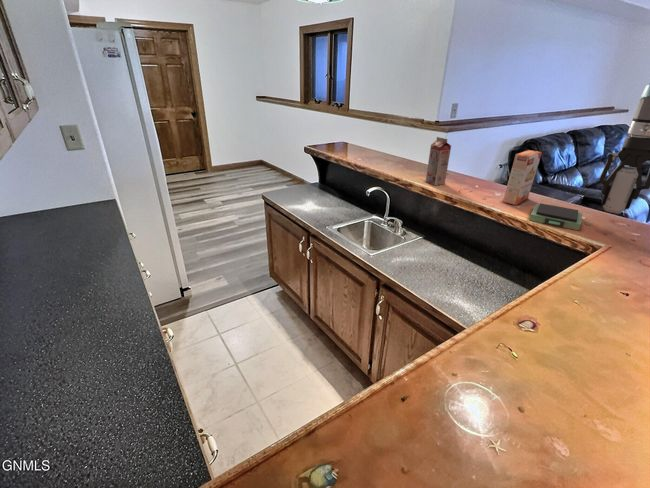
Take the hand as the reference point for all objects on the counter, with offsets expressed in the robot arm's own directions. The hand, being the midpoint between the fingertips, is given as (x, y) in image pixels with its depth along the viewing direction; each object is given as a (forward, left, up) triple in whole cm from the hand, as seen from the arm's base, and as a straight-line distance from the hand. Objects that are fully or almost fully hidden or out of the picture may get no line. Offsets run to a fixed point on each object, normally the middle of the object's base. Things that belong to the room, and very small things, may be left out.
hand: (614, 205), depth 120 cm
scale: (+15, -3, -10) cm, 19 cm away
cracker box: (+31, -18, -10) cm, 38 cm away
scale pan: (+15, -3, -7) cm, 17 cm away
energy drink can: (0, 0, -2) cm, 2 cm away
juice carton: (+69, -23, -10) cm, 74 cm away
